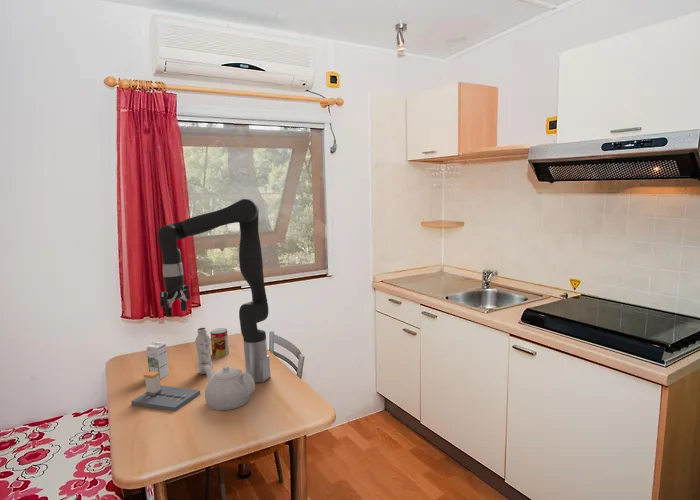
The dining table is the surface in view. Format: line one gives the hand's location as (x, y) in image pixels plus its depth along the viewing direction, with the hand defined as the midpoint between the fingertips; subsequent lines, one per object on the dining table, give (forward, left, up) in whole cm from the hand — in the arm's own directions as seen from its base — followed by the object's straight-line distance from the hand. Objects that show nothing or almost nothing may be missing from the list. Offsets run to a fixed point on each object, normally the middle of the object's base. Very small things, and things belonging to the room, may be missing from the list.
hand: (176, 313), depth 173 cm
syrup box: (+16, -4, -30) cm, 34 cm away
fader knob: (+3, +13, -28) cm, 31 cm away
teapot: (-28, +8, -30) cm, 42 cm away
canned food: (+5, -33, -30) cm, 45 cm away
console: (-3, +13, -30) cm, 33 cm away
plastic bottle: (-2, -12, -30) cm, 33 cm away
